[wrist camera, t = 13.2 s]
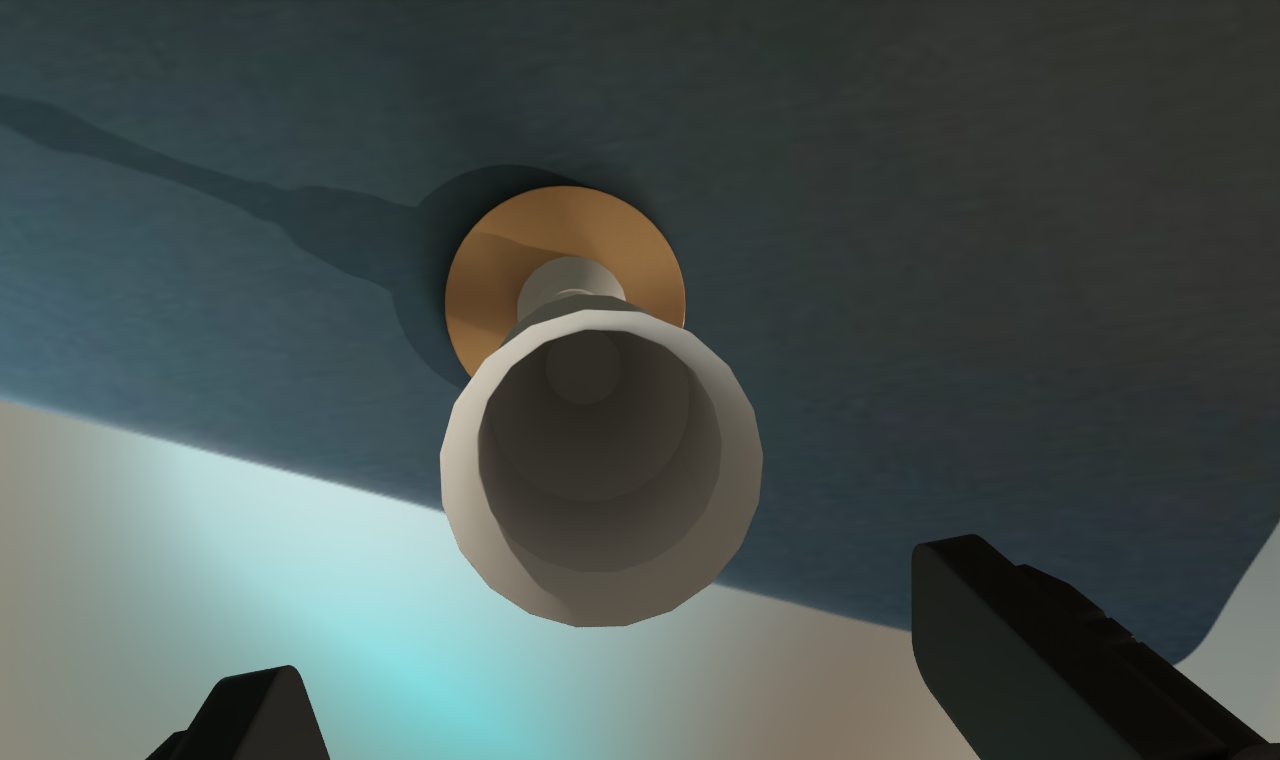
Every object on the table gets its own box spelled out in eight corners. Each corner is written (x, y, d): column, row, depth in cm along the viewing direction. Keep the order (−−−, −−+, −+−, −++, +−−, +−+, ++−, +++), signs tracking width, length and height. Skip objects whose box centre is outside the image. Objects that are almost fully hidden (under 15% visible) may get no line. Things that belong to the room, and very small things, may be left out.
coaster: (421, 204, 30) (418, 205, 29) (668, 169, 31) (670, 168, 30) (474, 436, 33) (472, 440, 33) (695, 397, 34) (697, 401, 34)
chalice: (653, 377, 33) (770, 601, 16) (511, 397, 32) (473, 652, 15) (637, 222, 31) (754, 288, 14) (484, 240, 30) (406, 331, 13)
